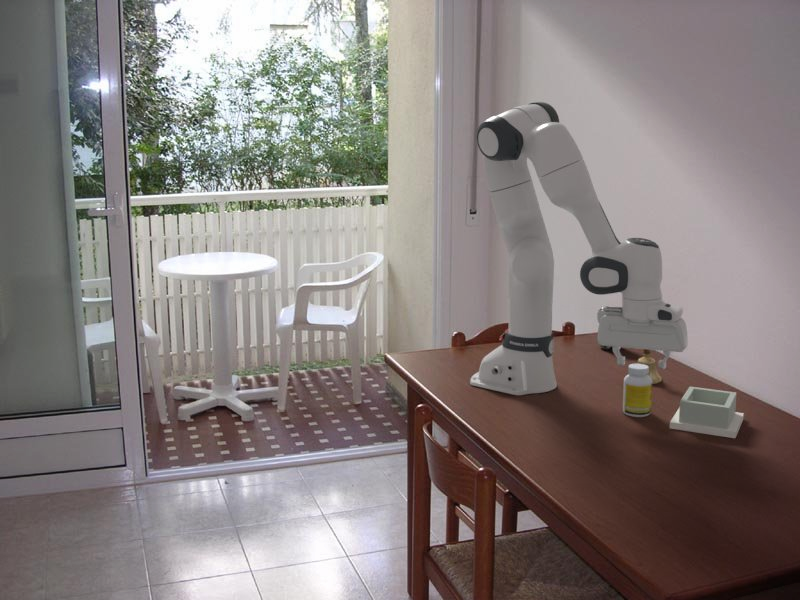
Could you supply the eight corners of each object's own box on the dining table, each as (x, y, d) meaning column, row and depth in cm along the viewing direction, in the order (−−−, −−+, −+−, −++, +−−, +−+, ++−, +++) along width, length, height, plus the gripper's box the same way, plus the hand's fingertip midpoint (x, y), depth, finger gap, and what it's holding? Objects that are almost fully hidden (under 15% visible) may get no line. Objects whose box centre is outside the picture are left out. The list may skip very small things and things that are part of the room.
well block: (669, 428, 198) (671, 400, 197) (681, 410, 209) (682, 384, 208) (735, 438, 192) (737, 410, 190) (743, 419, 203) (745, 392, 202)
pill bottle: (651, 418, 204) (653, 371, 202) (622, 417, 206) (624, 369, 203) (649, 409, 211) (651, 362, 208) (621, 408, 212) (623, 361, 209)
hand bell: (660, 385, 228) (663, 325, 224) (627, 382, 231) (630, 323, 227) (663, 376, 235) (666, 318, 232) (631, 373, 238) (634, 316, 235)
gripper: (593, 308, 204) (593, 365, 207) (684, 314, 195) (683, 374, 198) (601, 303, 210) (601, 358, 213) (689, 308, 200) (688, 366, 203)
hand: (641, 366), depth 205 cm, fingers open, 8 cm apart
